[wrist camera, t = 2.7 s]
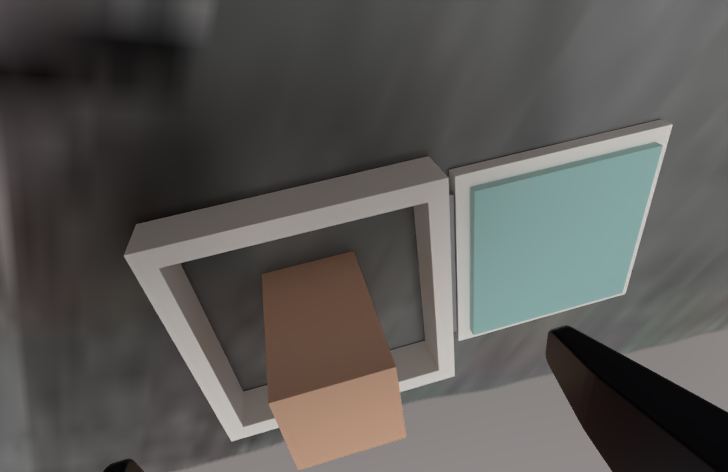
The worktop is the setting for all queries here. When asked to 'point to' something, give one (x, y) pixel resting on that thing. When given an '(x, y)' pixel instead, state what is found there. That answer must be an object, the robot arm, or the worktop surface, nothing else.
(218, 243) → the pale grey square frame
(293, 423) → the block
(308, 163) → the worktop surface
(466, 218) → the lid
